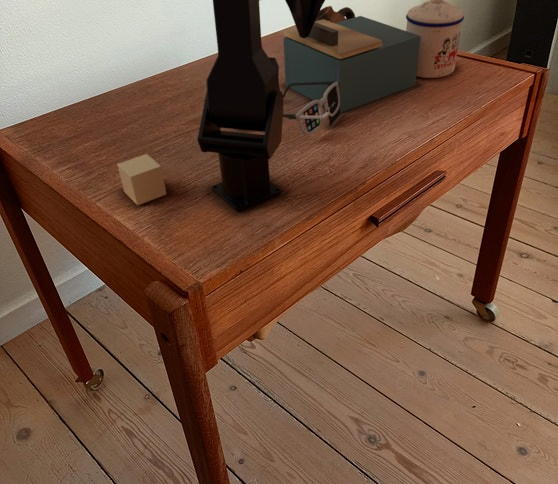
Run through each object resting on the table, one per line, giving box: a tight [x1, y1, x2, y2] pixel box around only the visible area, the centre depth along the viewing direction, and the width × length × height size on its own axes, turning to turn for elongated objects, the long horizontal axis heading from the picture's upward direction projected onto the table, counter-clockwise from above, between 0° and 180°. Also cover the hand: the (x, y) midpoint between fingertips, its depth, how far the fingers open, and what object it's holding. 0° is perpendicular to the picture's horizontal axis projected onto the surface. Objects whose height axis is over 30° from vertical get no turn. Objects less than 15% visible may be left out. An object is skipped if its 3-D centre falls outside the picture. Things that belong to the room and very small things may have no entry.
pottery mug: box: [315, 5, 356, 23], centre depth 108 cm, size 12×10×8 cm
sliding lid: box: [282, 19, 382, 59], centre depth 88 cm, size 14×8×3 cm, turn 35°
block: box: [117, 153, 167, 206], centre depth 72 cm, size 4×4×4 cm
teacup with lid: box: [405, 0, 465, 79], centre depth 97 cm, size 12×9×12 cm
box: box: [282, 15, 421, 114], centre depth 93 cm, size 14×16×8 cm
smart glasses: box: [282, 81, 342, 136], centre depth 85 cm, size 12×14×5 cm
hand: (303, 37), depth 86 cm, fingers closed
